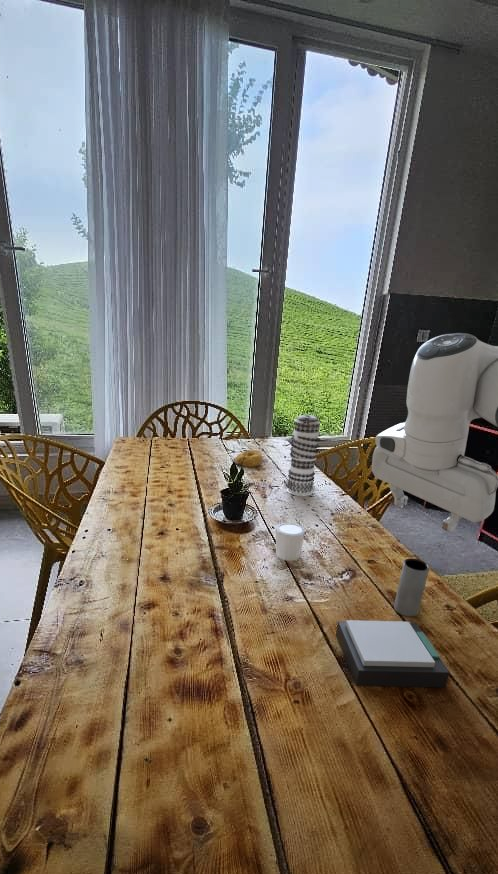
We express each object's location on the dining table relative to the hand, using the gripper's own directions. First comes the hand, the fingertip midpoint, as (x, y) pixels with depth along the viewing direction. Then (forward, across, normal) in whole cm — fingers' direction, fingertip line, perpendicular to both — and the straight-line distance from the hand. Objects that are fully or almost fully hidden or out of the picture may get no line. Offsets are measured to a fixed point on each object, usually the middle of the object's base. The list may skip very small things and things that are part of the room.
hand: (423, 516), depth 76 cm
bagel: (+37, +92, -24) cm, 102 cm away
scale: (+17, -7, +17) cm, 25 cm away
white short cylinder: (+22, +28, +8) cm, 37 cm away
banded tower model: (+34, +59, -22) cm, 72 cm away
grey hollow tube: (+22, 0, +2) cm, 22 cm away
